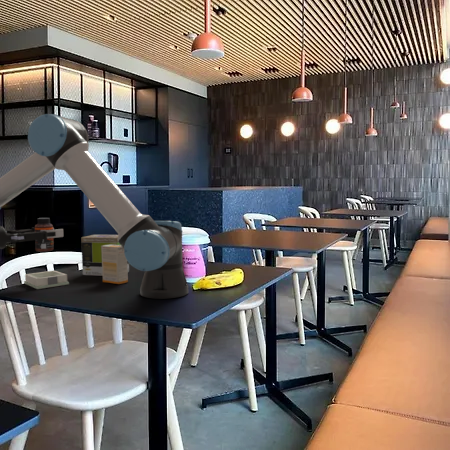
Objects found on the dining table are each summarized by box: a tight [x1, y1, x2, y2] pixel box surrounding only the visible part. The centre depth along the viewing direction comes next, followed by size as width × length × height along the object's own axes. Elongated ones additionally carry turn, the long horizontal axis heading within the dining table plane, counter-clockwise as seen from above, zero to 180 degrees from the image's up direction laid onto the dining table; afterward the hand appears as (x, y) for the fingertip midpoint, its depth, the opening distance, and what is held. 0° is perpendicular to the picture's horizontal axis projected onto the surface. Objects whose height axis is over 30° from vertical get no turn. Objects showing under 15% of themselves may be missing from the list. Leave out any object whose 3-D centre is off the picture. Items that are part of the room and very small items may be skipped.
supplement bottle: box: [34, 217, 55, 253], centre depth 170 cm, size 6×6×11 cm
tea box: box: [80, 234, 130, 277], centre depth 189 cm, size 15×10×15 cm, turn 76°
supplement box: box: [101, 244, 129, 285], centre depth 174 cm, size 8×5×13 cm, turn 56°
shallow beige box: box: [23, 270, 70, 290], centre depth 172 cm, size 12×11×3 cm
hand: (57, 232), depth 174 cm, fingers closed on supplement bottle, 6 cm apart
